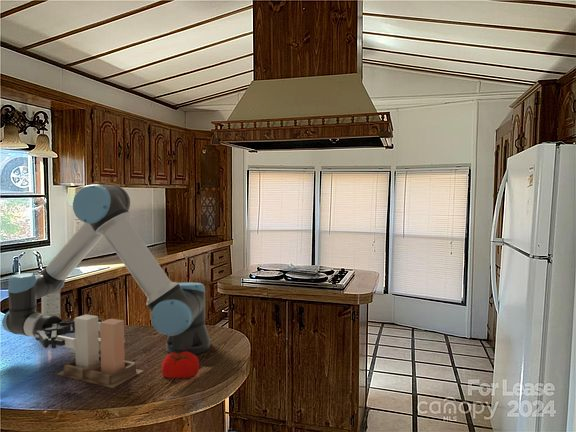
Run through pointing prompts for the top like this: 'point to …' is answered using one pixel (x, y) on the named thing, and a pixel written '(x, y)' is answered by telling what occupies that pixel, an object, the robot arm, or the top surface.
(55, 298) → the cracker box
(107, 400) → the top surface
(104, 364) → the salmon orange block
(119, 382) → the rack
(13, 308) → the robot arm
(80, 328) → the white rectangular block
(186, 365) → the tomato
